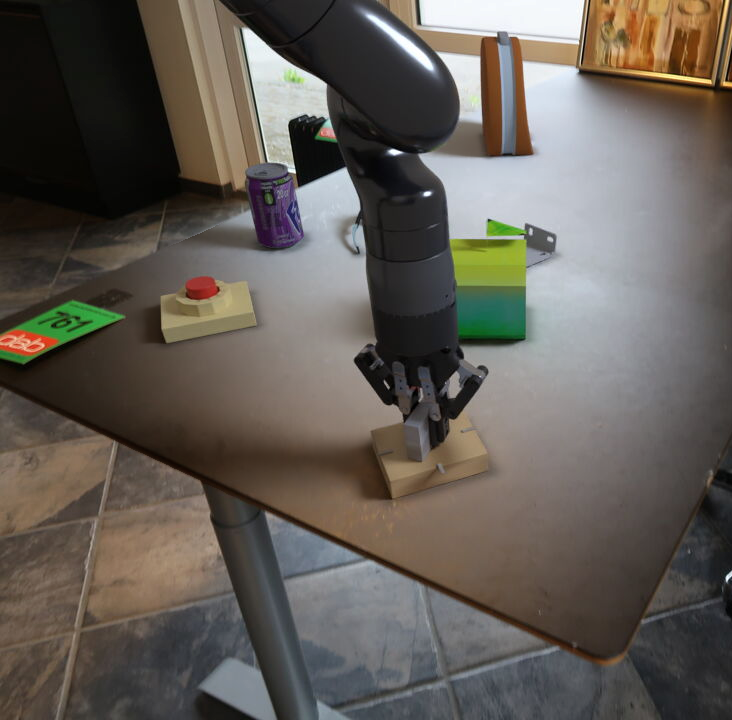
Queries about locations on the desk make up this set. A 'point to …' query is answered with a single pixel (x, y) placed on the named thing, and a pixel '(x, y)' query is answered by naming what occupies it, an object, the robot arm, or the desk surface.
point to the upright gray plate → (418, 432)
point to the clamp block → (429, 458)
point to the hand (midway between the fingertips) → (428, 438)
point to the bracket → (538, 244)
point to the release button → (201, 288)
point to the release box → (206, 312)
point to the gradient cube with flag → (491, 284)
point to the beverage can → (273, 205)
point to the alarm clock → (503, 96)
